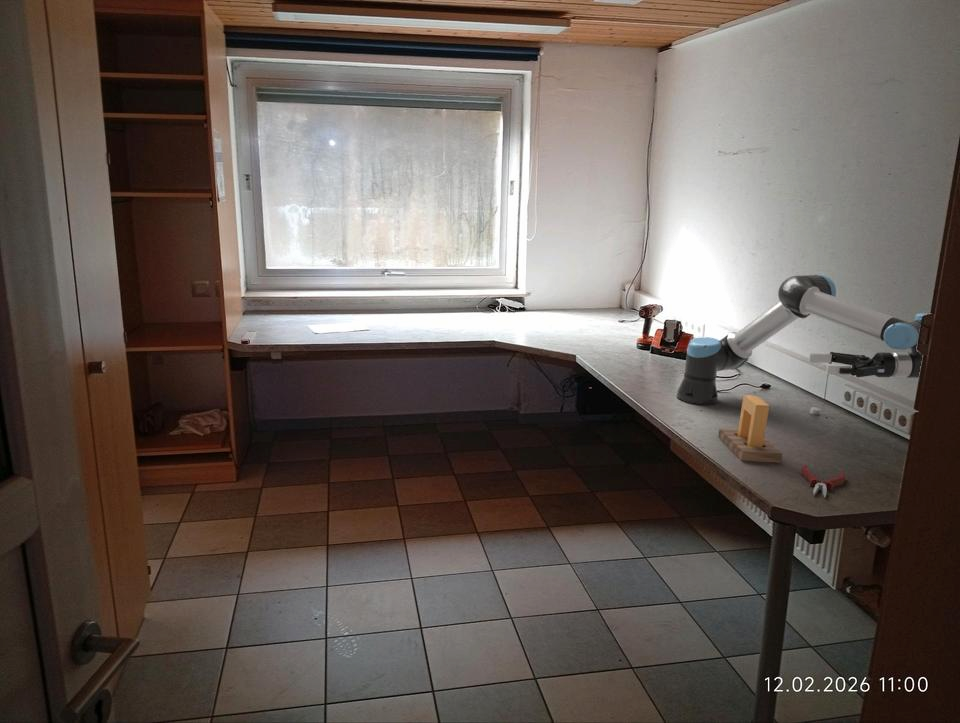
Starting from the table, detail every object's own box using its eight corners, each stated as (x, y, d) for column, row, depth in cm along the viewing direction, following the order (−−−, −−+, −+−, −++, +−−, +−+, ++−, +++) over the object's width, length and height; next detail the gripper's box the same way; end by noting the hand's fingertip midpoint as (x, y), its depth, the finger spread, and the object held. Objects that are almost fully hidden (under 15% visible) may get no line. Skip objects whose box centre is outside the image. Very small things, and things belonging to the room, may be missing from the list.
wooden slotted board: (718, 436, 224) (719, 428, 223) (754, 438, 224) (756, 430, 223) (740, 460, 204) (742, 451, 203) (780, 462, 204) (782, 453, 204)
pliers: (795, 494, 184) (796, 485, 183) (800, 470, 201) (802, 462, 200) (842, 506, 178) (844, 496, 178) (844, 480, 196) (846, 471, 195)
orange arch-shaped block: (736, 443, 219) (743, 395, 215) (748, 443, 219) (756, 395, 215) (748, 454, 209) (756, 404, 205) (761, 455, 209) (769, 405, 205)
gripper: (910, 389, 197) (833, 387, 198) (869, 366, 221) (801, 364, 222) (914, 363, 195) (836, 362, 196) (872, 343, 219) (804, 342, 220)
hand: (817, 363), depth 209 cm, fingers open, 13 cm apart
